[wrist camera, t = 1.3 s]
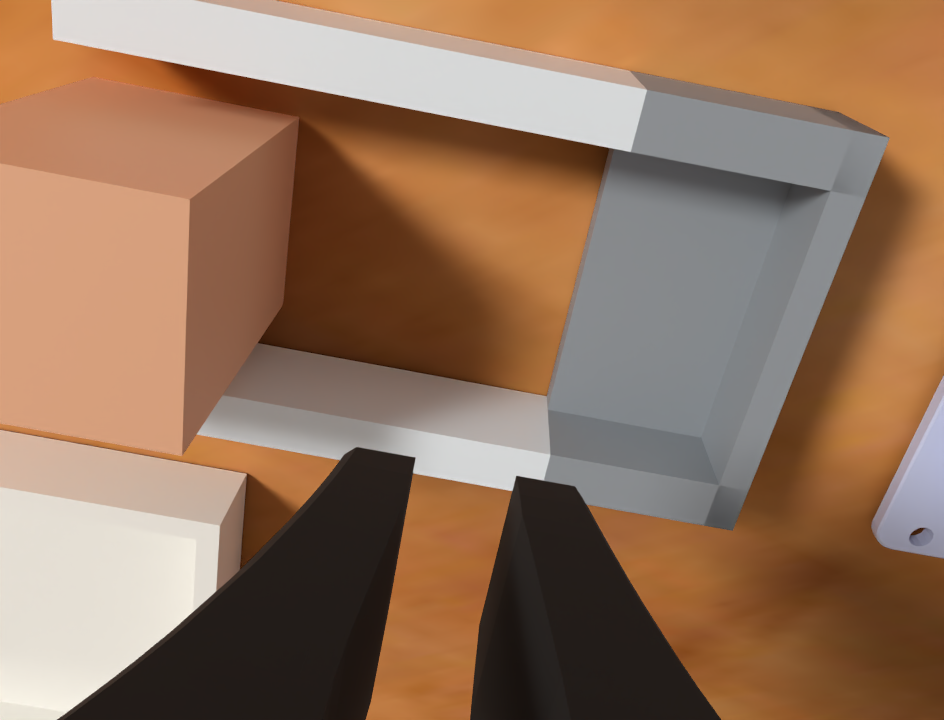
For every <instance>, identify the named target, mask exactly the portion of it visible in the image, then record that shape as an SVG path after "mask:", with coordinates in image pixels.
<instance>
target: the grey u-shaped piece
mask: <svg viewBox="0 0 944 720" xmlns="http://www.w3.org/2000/svg"><path fill="white" fill-rule="evenodd" d="M630 72H631V73H632V74H633V75H634V76H635V77H636V78H637V80H638V81H639V82H640V83H641V84H642V85H643V86H644V87H645V88H646V89H647V92H646V96H645V100H644V104H643V107H642V111H641V115H640V119H639V123H638V126H637V130H636V134H635V138H634V141H633V145H632V149H631V152H628V151H623V150H618V149H613V148H609V152H608V156H607V160H606V164H605V168H604V172H603V176H602V180H601V184H600V188H599V192H598V196H597V200H596V204H595V207H594V211H593V215H592V219H591V223H590V227H589V231H588V235H587V239H586V243H585V247H584V251H583V255H582V259H581V263H580V267H579V271H578V275H577V279H576V283H575V287H574V291H573V294H572V298H571V302H570V306H569V310H568V314H567V318H566V322H565V326H564V330H563V334H562V338H561V342H560V346H559V350H558V354H557V358H556V362H555V366H554V370H553V374H552V377H551V381H550V385H549V389H548V393H547V408H548V423H549V438H550V454H551V455H550V459H549V463H548V466H547V470H546V474H545V478H544V481H549V482H554V483H560V484H565V485H571V486H575V487H576V488H577V490H578V492H579V493H580V495H581V496H582V498H583V499H584V501H585V503H586V504H587V505H593V506H599V507H604V508H610V509H615V510H621V511H626V512H632V513H637V514H643V515H649V516H654V517H660V518H665V519H671V520H676V521H682V522H688V523H693V524H699V525H704V526H710V527H715V528H721V529H727V530H732V531H733V528H734V526H735V523H736V521H737V518H738V516H739V513H740V511H741V508H742V506H743V503H744V501H745V498H746V496H747V493H748V491H749V488H750V486H751V483H752V481H753V478H754V476H755V473H756V471H757V468H758V466H759V463H760V461H761V458H762V456H763V453H764V451H765V448H766V446H767V443H768V441H769V438H770V436H771V433H772V431H773V428H774V426H775V423H776V421H777V418H778V416H779V413H780V411H781V408H782V406H783V403H784V401H785V398H786V396H787V393H788V391H789V388H790V386H791V383H792V381H793V378H794V376H795V373H796V371H797V368H798V366H799V363H800V361H801V358H802V356H803V353H804V351H805V348H806V346H807V343H808V341H809V338H810V336H811V333H812V331H813V328H814V326H815V323H816V321H817V318H818V316H819V313H820V311H821V308H822V306H823V303H824V301H825V298H826V296H827V293H828V291H829V288H830V286H831V283H832V281H833V278H834V276H835V273H836V271H837V268H838V266H839V263H840V261H841V258H842V256H843V253H844V251H845V248H846V246H847V243H848V241H849V238H850V236H851V233H852V231H853V228H854V226H855V223H856V221H857V218H858V216H859V213H860V211H861V208H862V206H863V203H864V201H865V198H866V196H867V193H868V191H869V188H870V186H871V183H872V181H873V178H874V176H875V173H876V171H877V168H878V166H879V163H880V161H881V158H882V156H883V153H884V151H885V148H886V146H887V143H888V141H889V137H887V136H885V135H883V134H881V133H879V132H877V131H875V130H873V129H871V128H869V127H867V126H865V125H863V124H861V123H859V122H857V121H855V120H853V119H851V118H849V117H847V116H845V115H843V114H841V113H839V112H835V111H830V110H825V109H820V108H815V107H810V106H805V105H800V104H795V103H790V102H785V101H780V100H775V99H770V98H765V97H760V96H755V95H750V94H745V93H740V92H735V91H730V90H724V89H719V88H714V87H709V86H704V85H699V84H694V83H689V82H684V81H679V80H674V79H669V78H664V77H659V76H654V75H649V74H644V73H639V72H634V71H630Z"/></svg>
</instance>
